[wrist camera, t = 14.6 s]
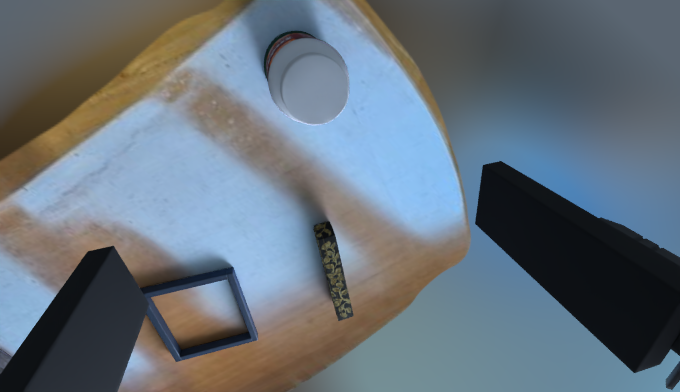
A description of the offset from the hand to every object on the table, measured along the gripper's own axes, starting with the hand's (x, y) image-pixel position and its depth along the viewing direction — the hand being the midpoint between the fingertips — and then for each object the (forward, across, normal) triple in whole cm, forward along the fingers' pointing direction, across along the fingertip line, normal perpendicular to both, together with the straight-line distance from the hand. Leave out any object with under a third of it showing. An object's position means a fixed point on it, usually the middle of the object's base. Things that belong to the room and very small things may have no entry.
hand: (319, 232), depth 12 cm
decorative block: (+24, +2, -24) cm, 34 cm away
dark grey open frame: (+24, -16, -27) cm, 39 cm away
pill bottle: (+24, +2, +2) cm, 24 cm away
